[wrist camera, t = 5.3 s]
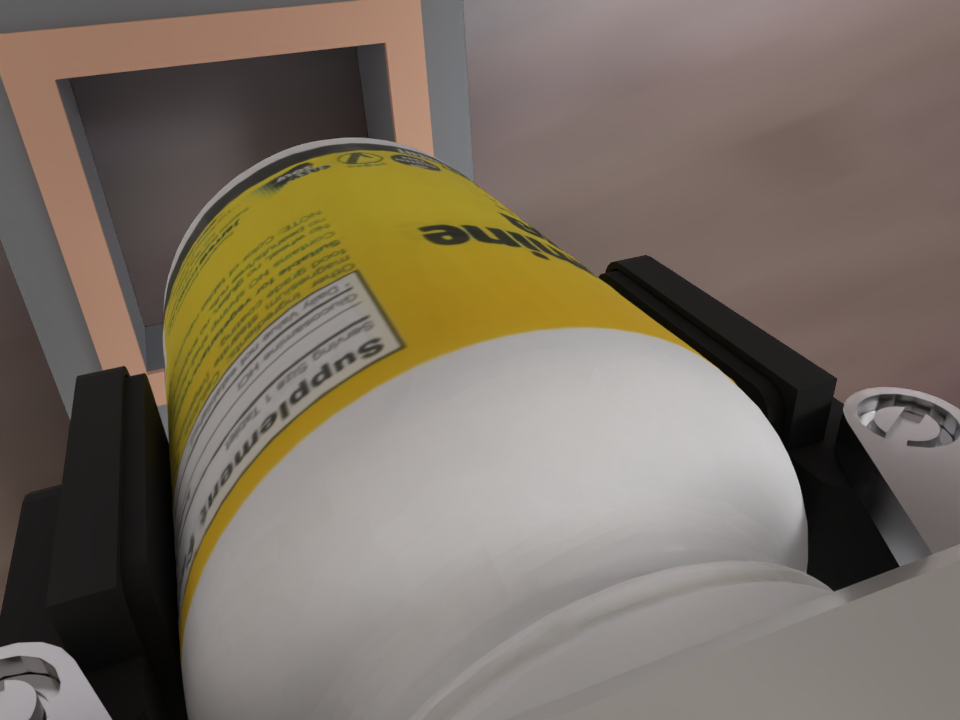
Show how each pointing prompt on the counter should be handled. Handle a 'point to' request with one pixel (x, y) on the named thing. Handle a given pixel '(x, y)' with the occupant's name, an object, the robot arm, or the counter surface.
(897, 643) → the robot arm
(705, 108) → the counter surface
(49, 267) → the socket stand
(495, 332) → the pill bottle
